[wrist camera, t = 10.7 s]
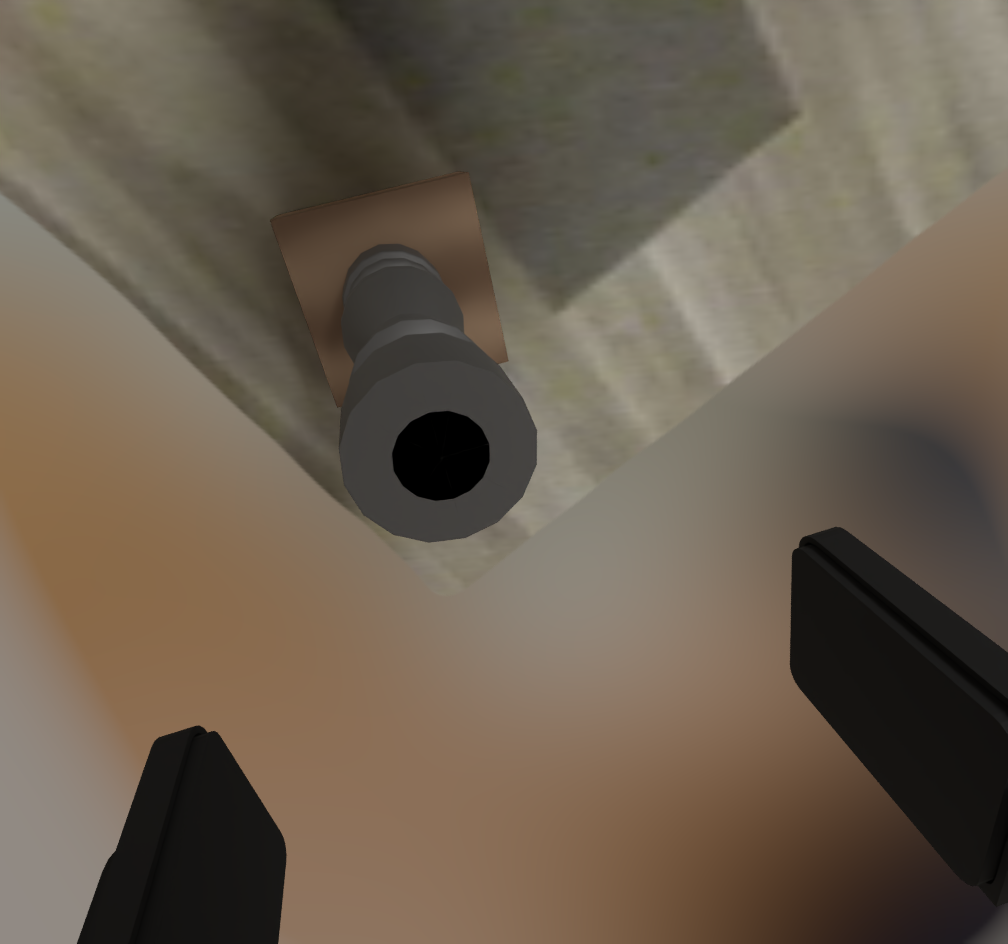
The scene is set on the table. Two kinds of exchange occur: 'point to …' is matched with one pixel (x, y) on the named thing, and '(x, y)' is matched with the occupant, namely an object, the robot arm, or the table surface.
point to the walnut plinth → (389, 220)
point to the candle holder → (425, 406)
